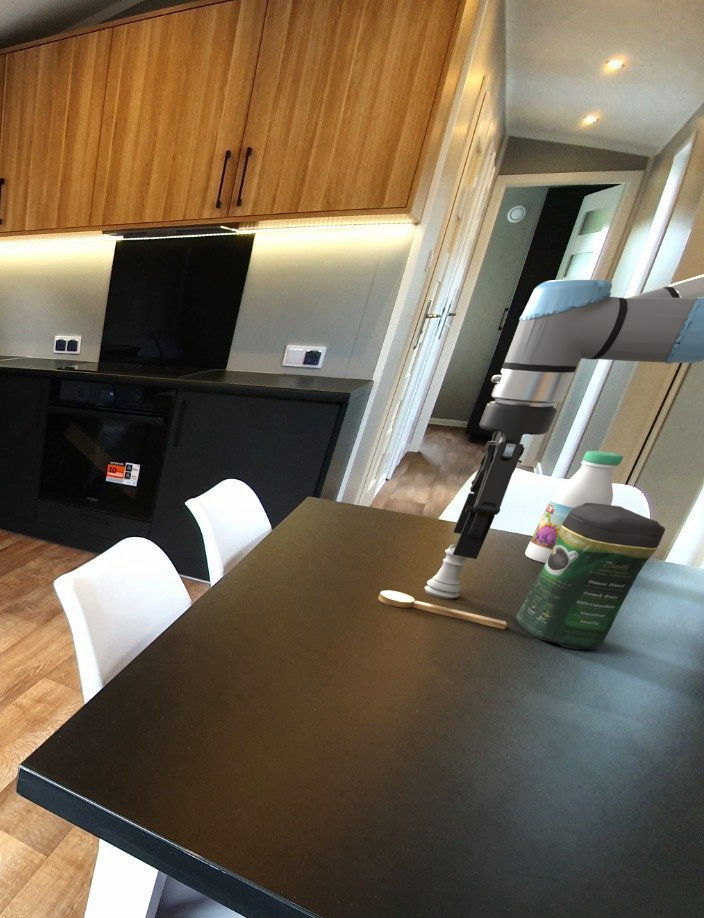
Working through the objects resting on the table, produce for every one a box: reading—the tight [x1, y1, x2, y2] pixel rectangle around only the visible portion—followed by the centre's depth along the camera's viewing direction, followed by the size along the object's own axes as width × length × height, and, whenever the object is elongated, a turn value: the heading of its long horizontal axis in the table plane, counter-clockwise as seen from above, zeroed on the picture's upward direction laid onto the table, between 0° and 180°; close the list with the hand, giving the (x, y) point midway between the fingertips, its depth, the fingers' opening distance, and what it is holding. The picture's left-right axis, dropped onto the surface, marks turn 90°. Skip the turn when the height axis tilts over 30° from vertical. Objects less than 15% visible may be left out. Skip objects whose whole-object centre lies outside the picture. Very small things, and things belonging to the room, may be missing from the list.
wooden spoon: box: [378, 590, 508, 630], centre depth 95 cm, size 15×4×1 cm, turn 51°
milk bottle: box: [525, 450, 624, 564], centre depth 113 cm, size 8×8×20 cm
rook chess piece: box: [424, 544, 469, 600], centre depth 100 cm, size 4×4×8 cm
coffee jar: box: [515, 503, 666, 650], centre depth 85 cm, size 10×8×19 cm
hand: (464, 544), depth 98 cm, fingers open, 13 cm apart
